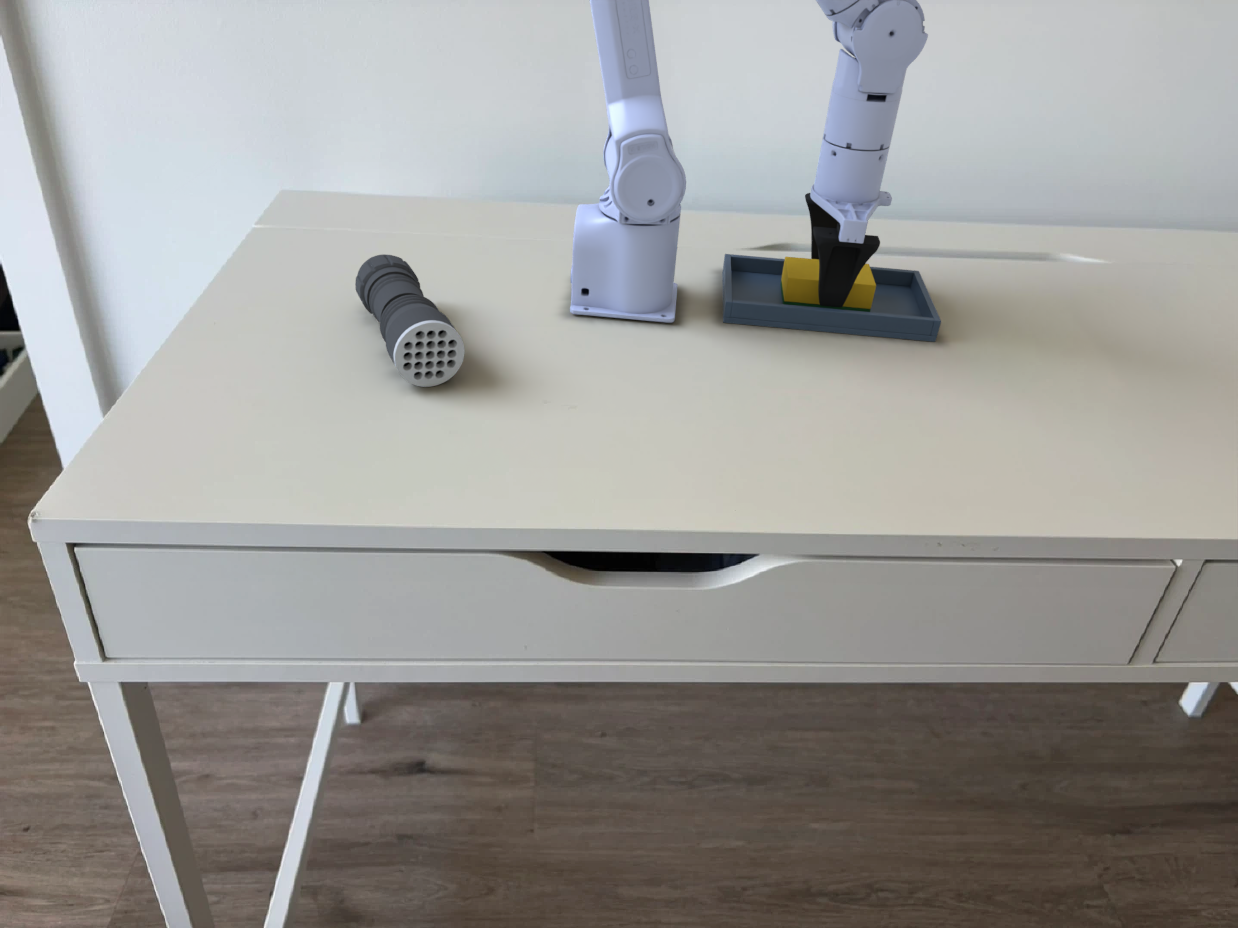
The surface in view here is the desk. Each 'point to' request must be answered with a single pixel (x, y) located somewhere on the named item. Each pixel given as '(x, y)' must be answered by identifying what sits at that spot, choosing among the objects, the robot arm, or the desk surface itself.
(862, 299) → the sponge
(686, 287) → the desk surface
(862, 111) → the robot arm
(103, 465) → the desk surface
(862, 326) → the tray
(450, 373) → the flashlight
